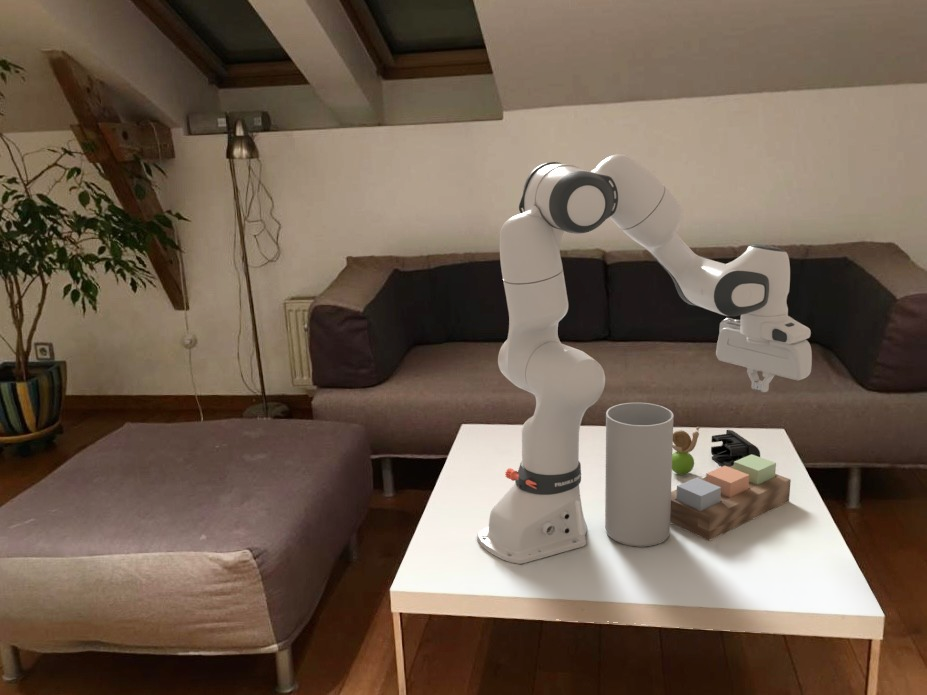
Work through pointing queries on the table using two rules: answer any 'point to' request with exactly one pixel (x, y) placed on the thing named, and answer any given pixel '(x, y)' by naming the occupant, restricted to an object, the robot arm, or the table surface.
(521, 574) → the table surface
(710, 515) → the key panel
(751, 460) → the sage key
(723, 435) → the end cap
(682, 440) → the snail figurine
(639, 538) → the cylinder vase
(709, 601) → the table surface
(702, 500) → the slate key
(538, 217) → the robot arm
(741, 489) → the terracotta key
